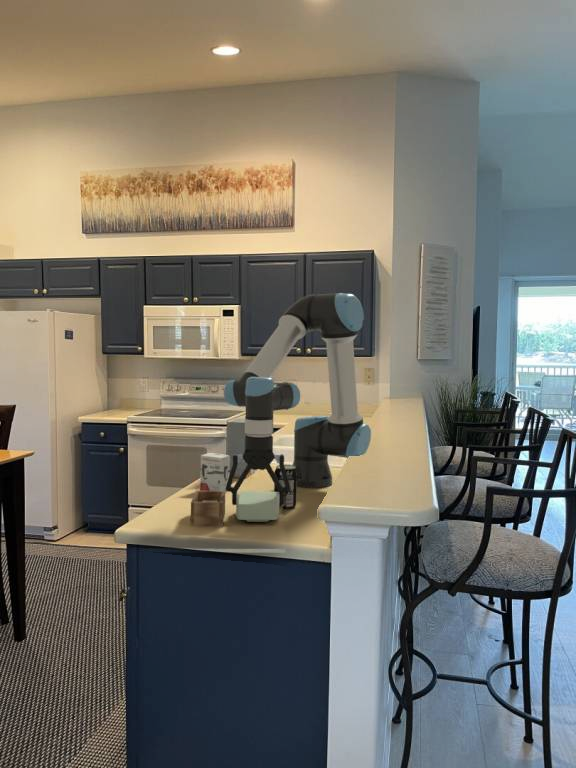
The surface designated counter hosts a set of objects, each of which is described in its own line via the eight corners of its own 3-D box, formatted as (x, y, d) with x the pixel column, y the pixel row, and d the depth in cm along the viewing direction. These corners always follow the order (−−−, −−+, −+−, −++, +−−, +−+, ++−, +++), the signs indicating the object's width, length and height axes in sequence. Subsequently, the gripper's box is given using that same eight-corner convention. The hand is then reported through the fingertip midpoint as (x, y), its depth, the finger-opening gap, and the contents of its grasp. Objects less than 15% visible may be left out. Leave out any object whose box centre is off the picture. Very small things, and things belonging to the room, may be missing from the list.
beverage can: (283, 502, 188) (284, 463, 187) (300, 506, 184) (301, 466, 183) (269, 507, 183) (269, 466, 182) (286, 511, 179) (287, 469, 178)
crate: (225, 515, 172) (225, 490, 172) (222, 529, 160) (222, 502, 159) (195, 515, 172) (196, 490, 172) (190, 529, 159) (190, 502, 159)
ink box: (199, 490, 201) (199, 454, 200) (207, 488, 205) (208, 452, 205) (221, 494, 197) (222, 457, 196) (230, 491, 201) (230, 455, 201)
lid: (275, 509, 175) (275, 491, 175) (276, 523, 161) (277, 504, 161) (239, 508, 175) (240, 491, 174) (238, 523, 161) (238, 504, 160)
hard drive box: (246, 479, 220) (247, 422, 219) (225, 477, 222) (226, 421, 220) (257, 470, 235) (258, 417, 234) (237, 469, 237) (238, 417, 236)
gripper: (300, 433, 171) (298, 513, 172) (217, 432, 170) (216, 512, 171) (302, 437, 163) (300, 521, 165) (215, 436, 162) (214, 520, 164)
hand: (257, 516), depth 168 cm, fingers closed on lid, 10 cm apart
